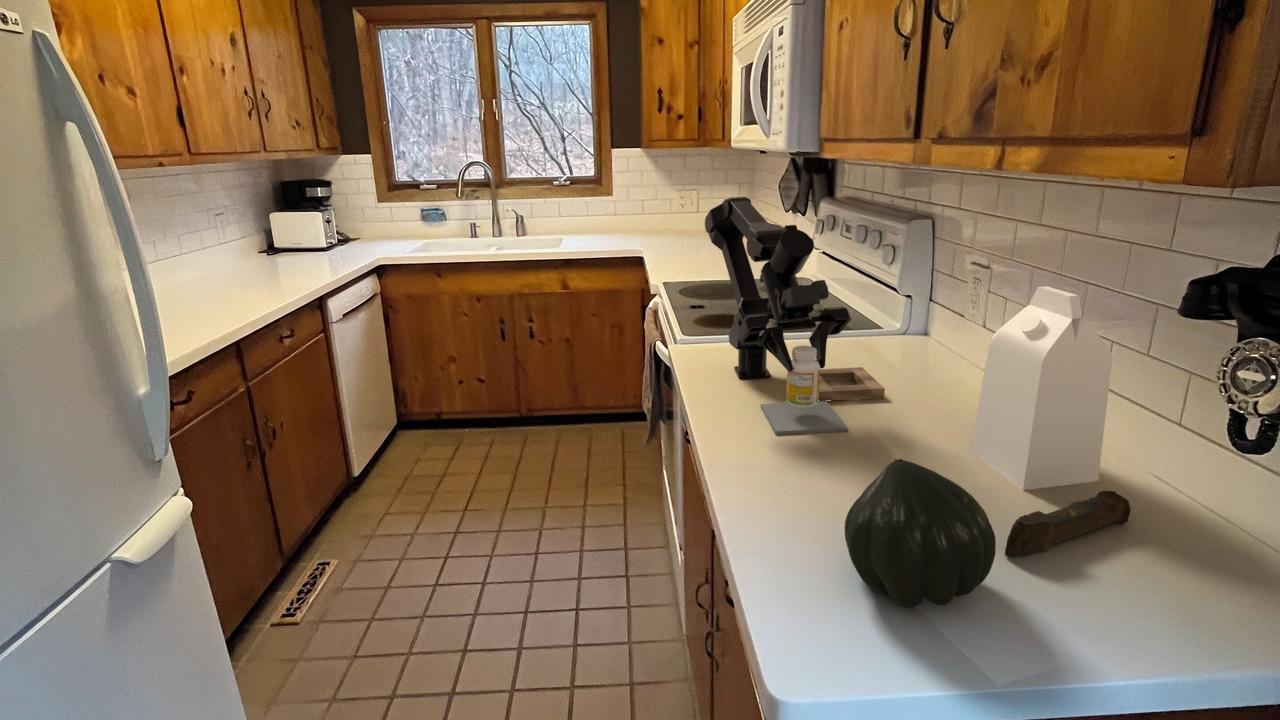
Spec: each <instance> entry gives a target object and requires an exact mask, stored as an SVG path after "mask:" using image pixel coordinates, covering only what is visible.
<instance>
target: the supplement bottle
mask: <svg viewBox="0 0 1280 720" xmlns="http://www.w3.org/2000/svg"><path fill="white" fill-rule="evenodd" d="M791 353H792V355H791V357H792V358H791V362H792V367H793V370H792V372H789V371H788V370H787V369H786V371H787V372H786V373H787V374H786V393H785V395H786V403H788V404H789V405H791V406H794V407H798V408H811V407H814V406H816V405H817V404H818V399H819V379H820V369H821V368H820V364H819V362H818V361H817V360H816V356H817V349H816V348H814V347H812V346H811V345H799V346H797V345H796V346H795V347H792V352H791Z"/></svg>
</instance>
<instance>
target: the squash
mask: <svg viewBox="0 0 1280 720" xmlns="http://www.w3.org/2000/svg"><path fill="white" fill-rule="evenodd" d="M844 538H845V542H846V547H847V551H848V555H849V557H850V560H851V563H852V565H853V566H854V569H855V570H856V572H857V573H858V575H859V577H860V579H861V580H862V582H863V583H864V584H865V585H866V586H867V587H868V588H870V589H871V590H872V591H873V592H876V593H879V594H883V595H889V596H890V597H891V599H892V600H893V601H894V603H896V604H898V605H899V606H901V607H905V608H913V607H916V606H919V605H920V604H922V603H923V601H924V599H926V601H927V602H929V603H930V604H932V605H936V606H945V605H947V604H950V602H951V601H952V600H953V599H954V597H963V596H966V595H968V594H970V593H972V592H973V591H974V590H975V589H976V587H978V586H980V585H981V584H982V583H983V582H984V581H985V580H986V578H987V577H988V576H989V574H990V572H991V569H992V567H993V563H994V561H995V557H996V552H997V551H996V547H997V545H996V542H997V541H996V535H995V532H994V529H993V526H992V524H991V523H990V520H989V517H988V515H987V513H986V511H985V509H984V508H983V507H982V506H981V505H980V503H979V502H978V501H977V499H976V498H975V497H974V496H973V495H972V494H971V493H970V492H969V491H967V490H966V489H965V488H963V487H962V486H961V485H959V484H957V483H955V482H954V481H953V480H951V479H949V478H947V477H945V476H943V475H941V474H939V473H938V472H936V471H934V470H932V469H930V468H927V467H925V466H923V465H920V464H918V463H916V462H915V463H914V462H912V461H909V460H906V459H902V458H900V457H899V458H894V461H892V462H891V463H889V464H888V465H887V466H885V468H884V469H882V471H881V472H880V473H879V475H878V476H877V477H876V478H875V479H873V481H872V482H870V484H868V486H867V487H865V489H864V490H863V492H862V493H861V494H860V495H859V497H858V498H857V499H856V500H855V501H854V502H853V504H852V506H851V507H850V508H849V509H848V513H847V515H846V518H845V521H844Z"/></svg>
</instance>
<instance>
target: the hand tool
mask: <svg viewBox="0 0 1280 720" xmlns="http://www.w3.org/2000/svg"><path fill="white" fill-rule="evenodd" d="M1131 509H1132V507H1131V504H1130V501H1129V499H1128V498H1126V497H1124V496H1123V495H1121V494H1119V493H1117V492H1116V491H1115V490H1101V491H1098V493H1097V494H1096V496H1094V497H1090V498H1088V499H1083V500H1077V501H1071V502H1070V503H1069V505H1067V506H1065V507H1062V508H1060V509H1057V510H1054V511H1052V512H1051V511H1050V512H1047V513H1044V512H1043V511H1040V510H1036V511H1033V512H1031V513H1029V514H1023V515H1021V516H1018V518H1017V519H1016V520H1015V522H1014V523H1013V524H1012V526H1011V530H1010V532H1009V533H1008V534H1009V535H1008V536H1007V539H1006V540H1007V541H1006V546H1005V551H1004V556H1005V557H1011V558H1015V557H1026V556H1031V555H1035V554H1041V553H1046V552H1047V551H1048V550H1049V548H1050V546H1052V545H1053V544H1054V545H1055V544H1057V543H1059V542H1063V541H1066V540H1069V539H1073V538H1076V537H1078V536H1079V535H1082V534H1084V533H1087V532H1091V531H1095V530H1097V529H1101V528H1103V527H1105V526H1108V525H1110V524H1113V523H1115V524H1118V525H1120V526H1123V525H1124V524H1126V523H1128V522H1129V518H1130V516H1131Z"/></svg>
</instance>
